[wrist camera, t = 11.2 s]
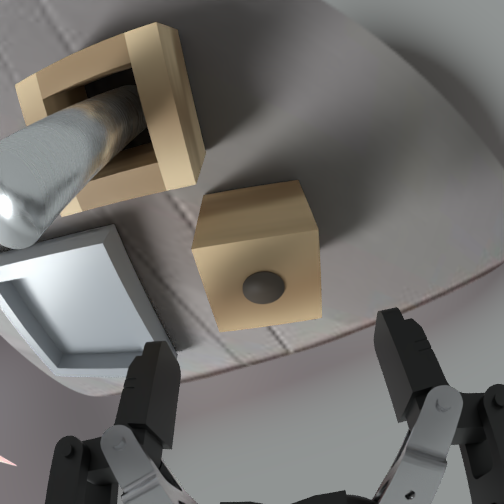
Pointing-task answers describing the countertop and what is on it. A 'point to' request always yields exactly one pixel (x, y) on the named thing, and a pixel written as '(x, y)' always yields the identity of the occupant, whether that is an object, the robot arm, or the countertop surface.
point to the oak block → (154, 107)
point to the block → (259, 256)
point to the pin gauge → (61, 160)
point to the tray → (79, 303)
